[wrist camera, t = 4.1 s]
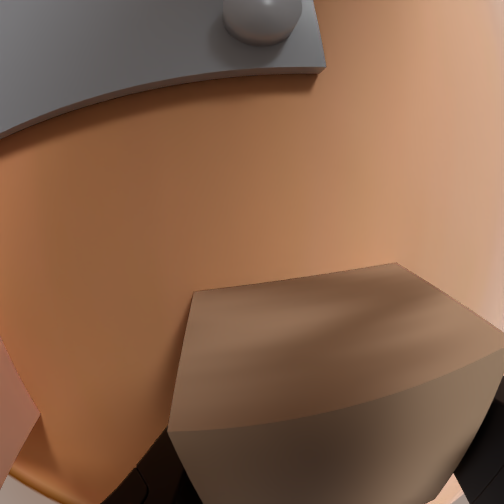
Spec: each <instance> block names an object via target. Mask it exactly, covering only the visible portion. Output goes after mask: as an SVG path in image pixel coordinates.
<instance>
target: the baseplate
mask: <svg viewBox="0 0 504 504" xmlns="http://www.w3.org/2000/svg"><path fill="white" fill-rule="evenodd" d="M325 68H326V62H325V57H324V51H323V46H322V41H321V35H320V30H319V26H318V21H317V16H316V12H315V7H314V3H313V0H0V139H2V138H4V137H6V136H9V135H11V134H13V133H15V132H18V131H20V130H22V129H25V128H27V127H29V126H32V125H34V124H37V123H39V122H42V121H45V120H47V119H50V118H53V117H55V116H58V115H61V114H64V113H67V112H70V111H73V110H76V109H79V108H82V107H85V106H89V105H92V104H95V103H99V102H102V101H106V100H110V99H113V98H117V97H121V96H125V95H129V94H133V93H138V92H142V91H147V90H151V89H156V88H161V87H167V86H172V85H178V84H184V83H190V82H197V81H204V80H212V79H220V78H229V77H240V76H252V75H268V74H319V73H320V72H322V71H323V70H324V69H325Z"/></svg>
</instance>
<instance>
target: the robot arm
mask: <svg viewBox="0 0 504 504" xmlns="http://www.w3.org/2000/svg"><path fill="white" fill-rule="evenodd" d="M167 430H168V426H167V427H166V428H165V430H164V431H163V432H162V434H161V435H160V436H159V437H158V439H157V440H156V441H155V442H154V444H153V445H152V446H151V447H150V449H149V450H148V451H147V453H146V454H145V455H144V456H143V458H142V459H141V460H140V461H139V463H138V464H137V465H136V468H134V469H133V470H132V471H131V472H130V473H129V475H128V476H127V477H126V478H125V479H124V480H123V482H122V483H121V484H120V485H119V486H118V487H117V488H116V489H115V490H114V491H113V492H112V493H111V494H110V495H109V496H108V497H107V498H106V499H105V500H104V501H103V502H102V503H101V504H203V502H202V500H201V499H200V497H199V495H198V493H197V491H196V490H195V488H194V486H193V484H192V482H191V480H190V478H189V476H188V474H187V472H186V470H185V468H184V466H183V464H182V462H181V460H180V458H179V456H178V454H177V452H176V450H175V448H174V446H173V443H172V441H171V439H170V437H169V435H168V432H167ZM453 473H454V475H455V477H456V479H457V480H458V482H459V484H460V486H461V488H462V490H463V492H464V494H465V495H466V498H467V500H468V501H469V504H504V376H503V377H502V379H501V382H500V384H499V387H498V389H497V391H496V394H495V396H494V398H493V401H492V403H491V405H490V407H489V409H488V411H487V414H486V416H485V418H484V420H483V422H482V424H481V426H480V428H479V430H478V431H477V433H476V435H475V437H474V439H473V441H472V442H471V444H470V446H469V448H468V449H467V451H466V453H465V455H464V456H463V458H462V460H461V461H460V463H459V464H458V466H457V468H456V469H455V471H454V472H453Z"/></svg>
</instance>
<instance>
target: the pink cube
mask: <svg viewBox="0 0 504 504" xmlns="http://www.w3.org/2000/svg"><path fill="white" fill-rule="evenodd" d="M40 414H41V413H40V412H39V410H38V408H37V407H36V405H35V403H34V402H33V400H32V398H31V397H30V395H29V393H28V391H27V390H26V388H25V386H24V384H23V382H22V380H21V378H20V377H19V375H18V373H17V371H16V369H15V367H14V365H13V363H12V361H11V359H10V357H9V354H8V352H7V350H6V348H5V346H4V343H3V341H2V339H1V336H0V489H1V487H2V485H3V483H4V481H5V479H6V477H7V475H8V473H9V471H10V469H11V467H12V465H13V463H14V461H15V459H16V457H17V455H18V454H19V452H20V450H21V448H22V446H23V444H24V442H25V441H26V439H27V437H28V435H29V434H30V432H31V430H32V428H33V426H34V425H35V423H36V421H37V420H38V418H39V416H40Z"/></svg>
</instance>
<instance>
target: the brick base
mask: <svg viewBox="0 0 504 504" xmlns="http://www.w3.org/2000/svg"><path fill="white" fill-rule="evenodd" d="M503 374H504V333H503V332H502V331H501V330H499V329H498V328H496V327H495V326H493V325H492V324H491V323H489V322H488V321H486V320H485V319H483V318H482V317H480V316H479V315H478V314H476V313H475V312H473V311H472V310H470V309H469V308H467V307H466V306H464V305H463V304H461V303H460V302H458V301H457V300H455V299H453V298H452V297H450V296H449V295H447V294H446V293H444V292H443V291H441V290H440V289H438V288H436V287H435V286H433V285H432V284H430V283H429V282H427V281H425V280H424V279H422V278H421V277H419V276H417V275H416V274H414V273H412V272H411V271H409V270H408V269H406V268H404V267H403V266H401V265H399V264H398V263H391V264H385V265H379V266H373V267H367V268H361V269H355V270H348V271H342V272H336V273H329V274H322V275H316V276H309V277H302V278H295V279H288V280H281V281H274V282H267V283H259V284H252V285H244V286H237V287H229V288H221V289H213V290H204V291H196V292H194V294H193V299H192V303H191V308H190V312H189V317H188V322H187V327H186V332H185V337H184V341H183V346H182V352H181V357H180V362H179V367H178V372H177V378H176V383H175V389H174V394H173V400H172V406H171V411H170V417H169V423H168V430H167V432H168V435H169V437H170V439H171V441H172V443H173V446H174V448H175V450H176V452H177V454H178V456H179V458H180V460H181V462H182V464H183V466H184V468H185V470H186V472H187V474H188V476H189V478H190V480H191V482H192V484H193V486H194V488H195V490H196V491H197V493H198V495H199V497H200V499H201V500H202V502H203V504H426V503H428V502H430V501H432V500H434V499H435V498H436V497H437V495H438V494H439V493H440V491H441V490H442V488H443V487H444V486H445V484H446V483H447V481H448V480H449V478H450V477H451V475H452V474H453V472H454V471H455V469H456V468H457V466H458V464H459V463H460V461H461V460H462V458H463V456H464V455H465V453H466V451H467V449H468V448H469V446H470V444H471V442H472V441H473V439H474V437H475V435H476V433H477V431H478V430H479V428H480V426H481V424H482V422H483V420H484V418H485V416H486V414H487V411H488V409H489V407H490V405H491V403H492V401H493V398H494V396H495V394H496V391H497V389H498V387H499V384H500V382H501V379H502V377H503Z"/></svg>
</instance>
